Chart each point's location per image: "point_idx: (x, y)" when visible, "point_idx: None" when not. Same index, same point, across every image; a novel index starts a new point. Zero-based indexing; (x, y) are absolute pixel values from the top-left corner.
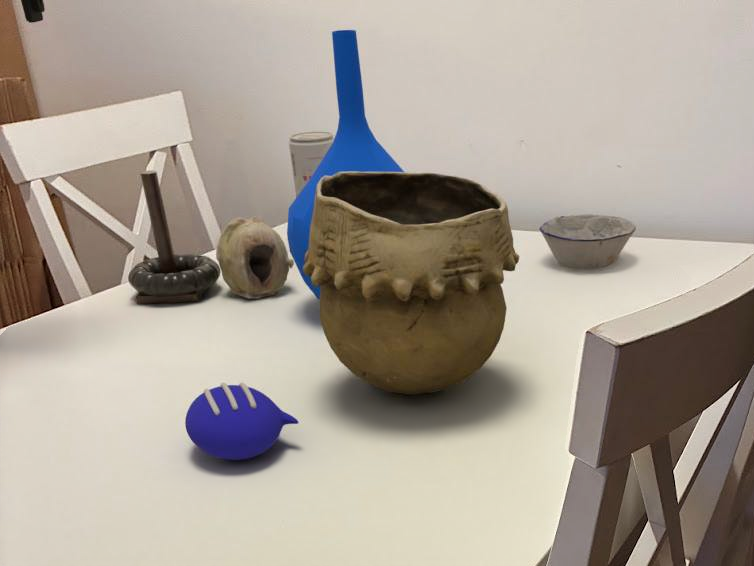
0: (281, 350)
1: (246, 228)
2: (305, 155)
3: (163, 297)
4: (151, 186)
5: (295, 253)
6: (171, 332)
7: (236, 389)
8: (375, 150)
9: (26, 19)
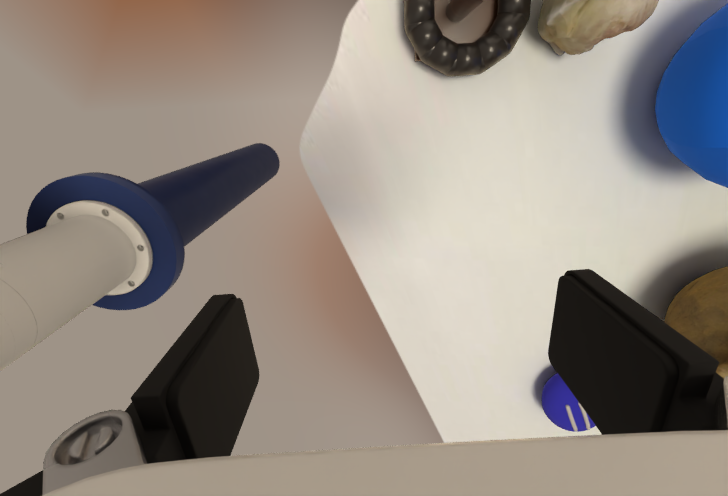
0: (594, 223)
1: (625, 1)
2: None
3: None
4: None
5: (684, 148)
6: (479, 168)
7: None
8: None
9: (551, 360)
